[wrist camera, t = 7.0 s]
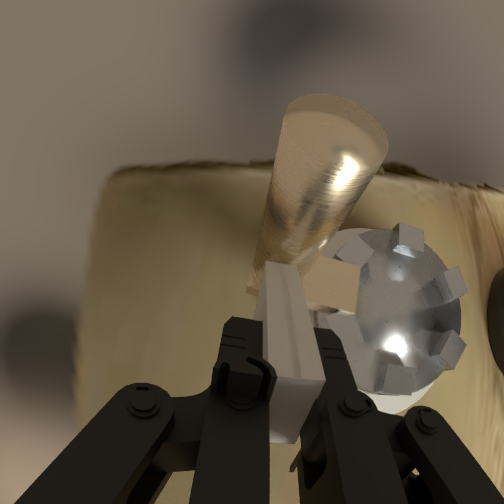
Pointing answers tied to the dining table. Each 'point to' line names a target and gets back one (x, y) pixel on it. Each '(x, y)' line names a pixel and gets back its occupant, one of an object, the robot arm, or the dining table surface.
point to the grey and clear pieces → (357, 252)
